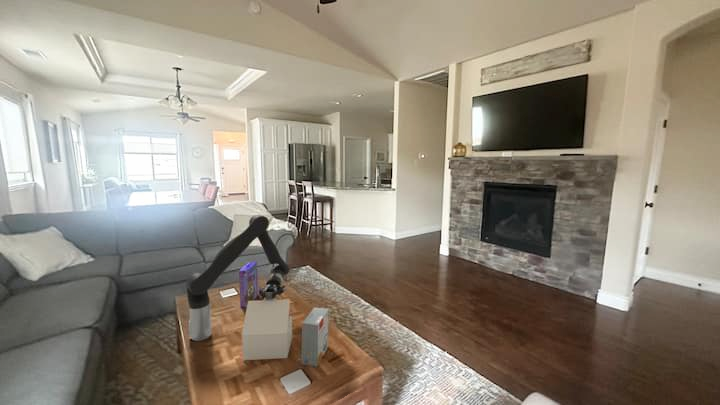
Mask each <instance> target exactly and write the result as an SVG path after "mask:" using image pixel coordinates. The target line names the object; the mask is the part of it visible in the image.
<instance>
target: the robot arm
mask: <svg viewBox="0 0 720 405" xmlns="http://www.w3.org/2000/svg"><path fill="white" fill-rule="evenodd" d="M269 225H270V221H269V219H268V217H266V216H264V215H261V214H255V215H253V216H251V217H250V219H249V221H248V226H247V228H246V229H245V230H244V231H243V232H241V233H240V234H238V235H236V236H235V237H234V238H232V239H230V240H229V241H228V242H227V243H226V244H224V245H223V247H221V249H219V251H218V252H217V254H216V255H215V258H213V260H212V262H211V264H210V265H209V266H208V267H207V268H206V269H205V270H204V271H203V272H195V273H192V274H191V275H190V276H188V278H187V280H186V293H187V301H188V308H189V311H188V312H189V321H188V323H187V324H188V338H189V339H188V340H190V339H192V341H193V340H194V341H195V342H200V341H203V340H204V341H205V340H206V339H209V338H210V337H211V336H212V320H211V304H210V302H211V301H210V296H209V292H208V291H209V290H210V289H211V287H212V286H213V284H215V282H216V281H217V279H218V278H219V277H220V276H222V274H223V273H224V272H225V271H226V270H227V269H228V268H229V267H230V266H231V265H232V264H233V263H234V262H235V261H236V260H237V259H238V258H239V257H240V255H242V254H243V252H244V251H245V250H246V249H248V247H249V246H250V245H251V244H252V243H253V241H254V240H256V239H258V241H259V243H260V245H261V247H262V249H263V252H264V254H265V256H266V258H267V261H268V262H269V264H270V265H275V266H273V267H272V268H270V276H269V277H268V279H267V281H266V283H265V285H264V286H261V285H260V286H259V285H258V296H260V299H261V300H265V299H266V297H265V292H273V294H272V299H273V300H275V299H276V297H277V296H281V295H282V294H284V292H286V285H282V284H283V280H284V277H285V276H287V275H288V274H290V273H289V272H290V267H289V265H288V264H287V262H286V261H285V260H284V258H282V256H281V255H280V252H279V250H278V248H277V246H276V245H275V243H274V241H273V240H272V238H271V237H270V235H269V233H268V230H267V229H268V227H269ZM276 264H277V265H276Z"/></svg>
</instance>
